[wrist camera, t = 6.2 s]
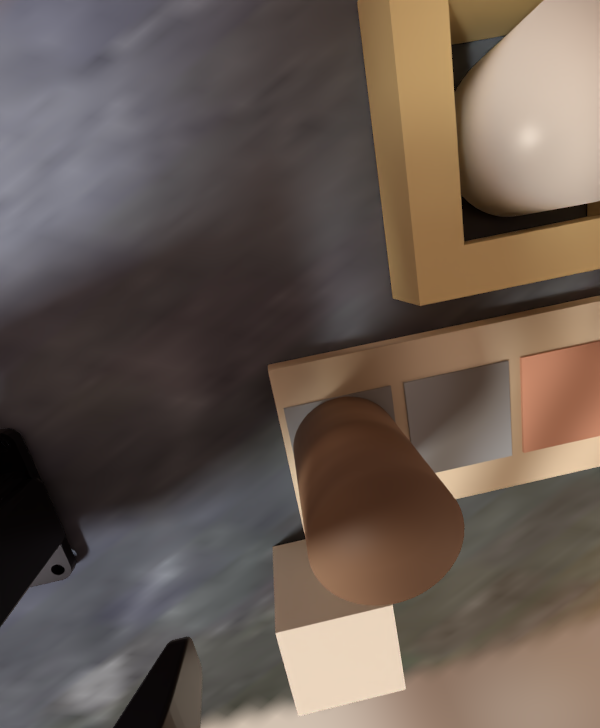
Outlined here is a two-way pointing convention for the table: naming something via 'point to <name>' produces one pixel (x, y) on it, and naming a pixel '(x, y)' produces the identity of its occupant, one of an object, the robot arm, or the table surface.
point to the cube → (330, 638)
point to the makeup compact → (471, 394)
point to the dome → (534, 114)
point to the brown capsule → (372, 506)
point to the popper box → (446, 158)
